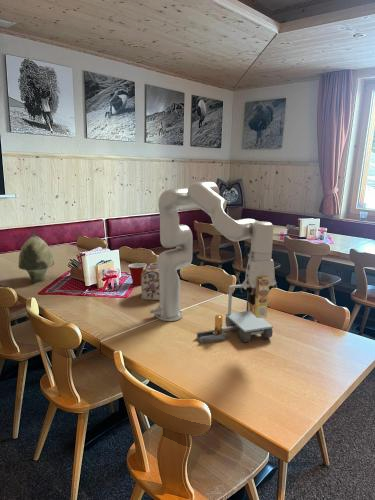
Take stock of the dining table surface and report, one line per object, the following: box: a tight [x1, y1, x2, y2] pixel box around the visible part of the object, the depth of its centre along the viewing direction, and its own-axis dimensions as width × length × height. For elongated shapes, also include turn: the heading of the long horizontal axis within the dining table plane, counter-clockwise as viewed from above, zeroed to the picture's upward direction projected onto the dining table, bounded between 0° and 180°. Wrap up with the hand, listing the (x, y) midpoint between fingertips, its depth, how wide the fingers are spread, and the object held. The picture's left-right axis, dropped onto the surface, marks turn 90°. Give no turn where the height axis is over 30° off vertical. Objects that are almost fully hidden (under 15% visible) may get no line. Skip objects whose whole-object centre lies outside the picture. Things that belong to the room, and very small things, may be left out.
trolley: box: [225, 283, 274, 343], centre depth 155 cm, size 13×18×19 cm
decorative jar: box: [140, 262, 159, 301], centre depth 195 cm, size 12×12×18 cm
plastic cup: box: [127, 262, 148, 287], centre depth 215 cm, size 11×11×12 cm
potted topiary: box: [18, 231, 55, 283], centre depth 217 cm, size 19×20×30 cm
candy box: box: [248, 277, 269, 319], centre depth 137 cm, size 9×4×15 cm, turn 14°
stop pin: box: [213, 314, 238, 335], centre depth 153 cm, size 10×3×8 cm, turn 110°
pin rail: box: [196, 329, 227, 344], centre depth 151 cm, size 11×5×2 cm, turn 110°
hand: (257, 302), depth 138 cm, fingers closed on candy box, 4 cm apart
